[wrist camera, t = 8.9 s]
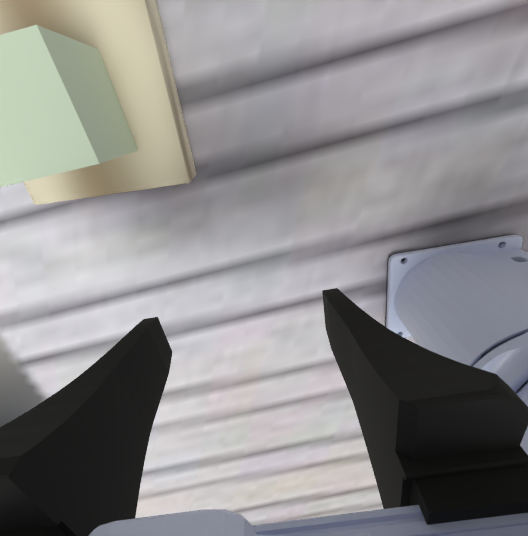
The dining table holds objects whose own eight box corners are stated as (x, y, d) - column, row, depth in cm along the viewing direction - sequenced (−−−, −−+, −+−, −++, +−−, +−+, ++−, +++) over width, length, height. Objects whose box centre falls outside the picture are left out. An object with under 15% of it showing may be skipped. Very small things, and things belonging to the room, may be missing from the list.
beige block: (156, -7, 15) (136, -32, 13) (197, 172, 20) (189, 182, 17) (-13, 20, 16) (-67, 2, 13) (63, 192, 20) (34, 204, 17)
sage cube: (98, 49, 14) (36, 24, 10) (137, 150, 16) (99, 163, 12) (9, 73, 14) (-85, 58, 10) (59, 169, 16) (-4, 188, 12)
